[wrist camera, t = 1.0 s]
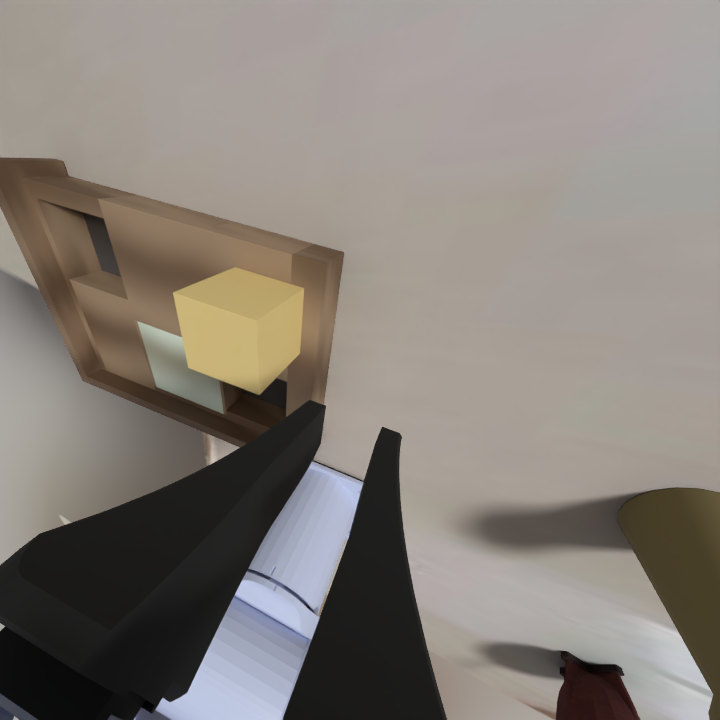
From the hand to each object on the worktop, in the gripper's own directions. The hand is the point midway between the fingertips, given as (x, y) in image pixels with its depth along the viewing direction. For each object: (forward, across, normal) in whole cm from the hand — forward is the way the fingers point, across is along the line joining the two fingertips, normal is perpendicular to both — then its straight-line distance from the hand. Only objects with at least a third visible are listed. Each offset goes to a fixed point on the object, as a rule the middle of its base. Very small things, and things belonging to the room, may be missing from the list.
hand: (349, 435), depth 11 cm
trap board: (+8, +14, +4) cm, 16 cm away
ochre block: (+6, +7, 0) cm, 9 cm away
